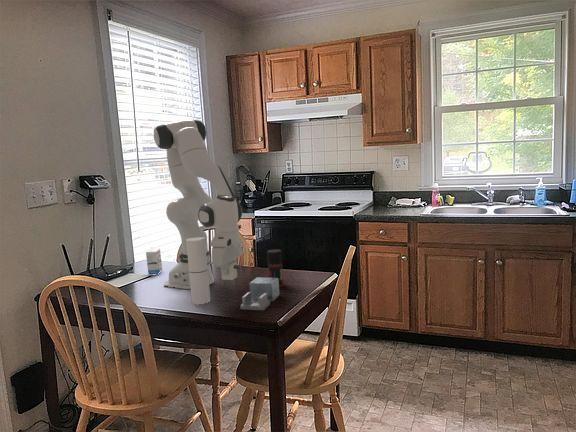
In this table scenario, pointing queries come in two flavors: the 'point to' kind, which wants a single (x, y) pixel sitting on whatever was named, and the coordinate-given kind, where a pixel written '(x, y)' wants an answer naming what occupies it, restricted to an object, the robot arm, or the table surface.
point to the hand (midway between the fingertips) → (229, 272)
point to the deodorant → (275, 265)
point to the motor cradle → (260, 293)
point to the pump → (231, 271)
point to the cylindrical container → (198, 270)
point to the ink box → (154, 261)
